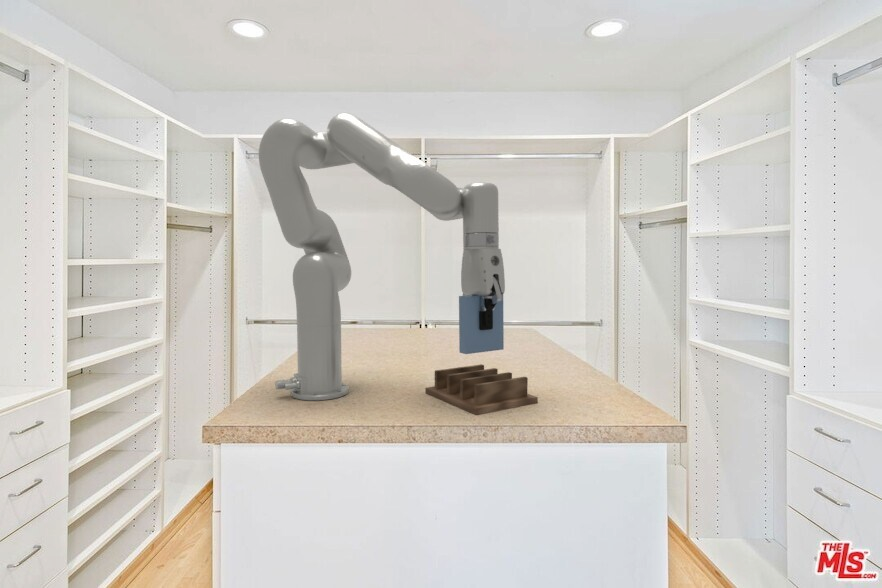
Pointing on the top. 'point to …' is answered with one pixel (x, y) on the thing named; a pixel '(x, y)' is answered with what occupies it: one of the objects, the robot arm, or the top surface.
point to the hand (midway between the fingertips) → (481, 328)
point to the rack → (480, 389)
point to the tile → (469, 327)
